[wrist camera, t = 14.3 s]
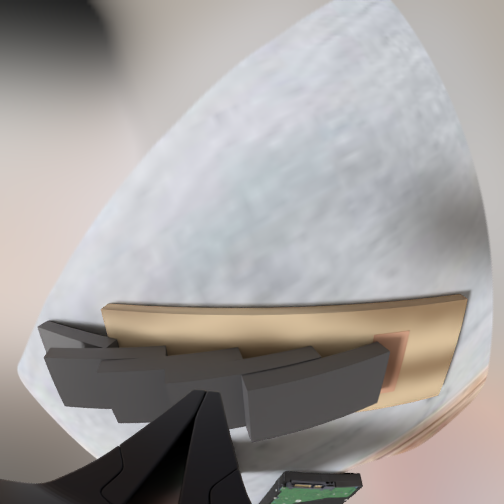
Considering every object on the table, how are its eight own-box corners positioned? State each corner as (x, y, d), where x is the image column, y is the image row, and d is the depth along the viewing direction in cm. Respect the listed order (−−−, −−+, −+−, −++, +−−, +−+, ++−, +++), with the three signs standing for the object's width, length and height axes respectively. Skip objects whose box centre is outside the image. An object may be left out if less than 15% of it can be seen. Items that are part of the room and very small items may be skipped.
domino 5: (390, 351, 16) (247, 391, 14) (377, 402, 18) (251, 442, 15) (377, 341, 18) (241, 375, 16) (366, 392, 19) (246, 426, 17)
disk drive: (316, 511, 28) (361, 470, 24) (316, 524, 25) (364, 486, 21) (252, 507, 28) (282, 467, 24) (251, 521, 25) (282, 486, 22)
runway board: (433, 388, 20) (438, 395, 19) (135, 396, 23) (130, 404, 21) (460, 293, 18) (468, 299, 17) (108, 303, 20) (100, 309, 19)
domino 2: (165, 356, 18) (43, 357, 15) (176, 407, 19) (64, 406, 16) (165, 345, 19) (50, 347, 17) (175, 394, 20) (69, 394, 18)
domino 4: (321, 356, 17) (164, 383, 15) (315, 408, 18) (180, 435, 16) (311, 345, 18) (165, 368, 16) (307, 396, 20) (179, 420, 17)
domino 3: (242, 359, 17) (96, 372, 15) (247, 410, 18) (118, 423, 16) (237, 347, 19) (101, 360, 17) (242, 397, 20) (120, 409, 18)
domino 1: (105, 348, 18) (37, 326, 20) (122, 397, 19) (53, 369, 21) (116, 339, 20) (48, 320, 22) (131, 386, 21) (62, 362, 23)
